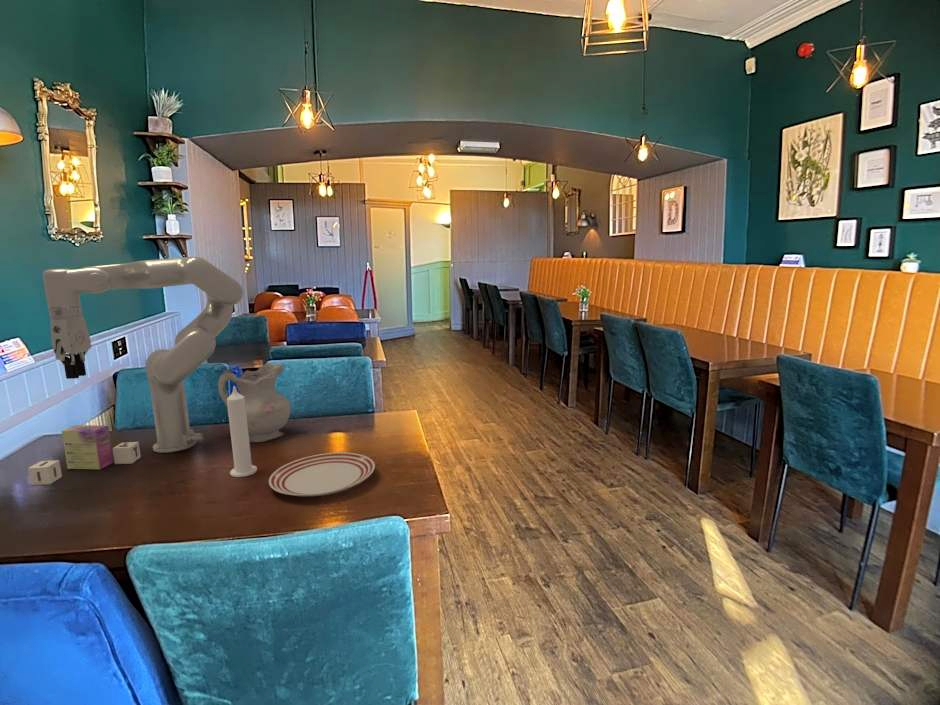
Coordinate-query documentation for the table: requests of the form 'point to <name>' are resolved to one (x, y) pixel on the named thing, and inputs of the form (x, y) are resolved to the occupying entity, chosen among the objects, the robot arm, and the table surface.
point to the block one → (45, 472)
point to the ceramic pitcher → (260, 401)
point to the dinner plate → (322, 474)
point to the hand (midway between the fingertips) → (76, 376)
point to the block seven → (126, 453)
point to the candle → (239, 436)
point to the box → (87, 447)
